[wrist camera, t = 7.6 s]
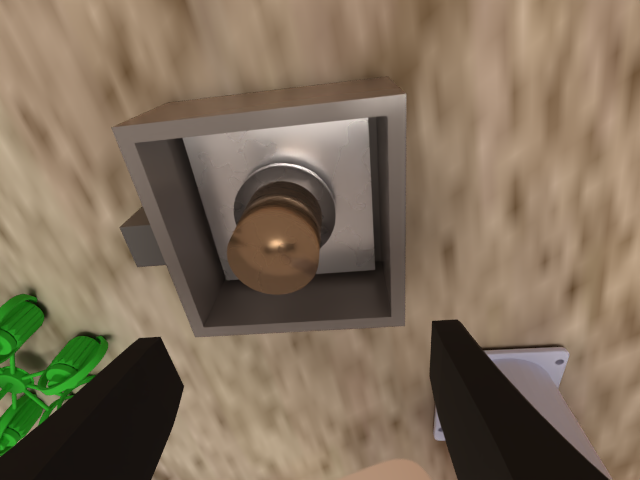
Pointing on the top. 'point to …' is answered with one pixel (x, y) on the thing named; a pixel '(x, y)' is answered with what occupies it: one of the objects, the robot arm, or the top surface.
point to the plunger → (287, 201)
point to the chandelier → (63, 373)
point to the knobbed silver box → (195, 234)
